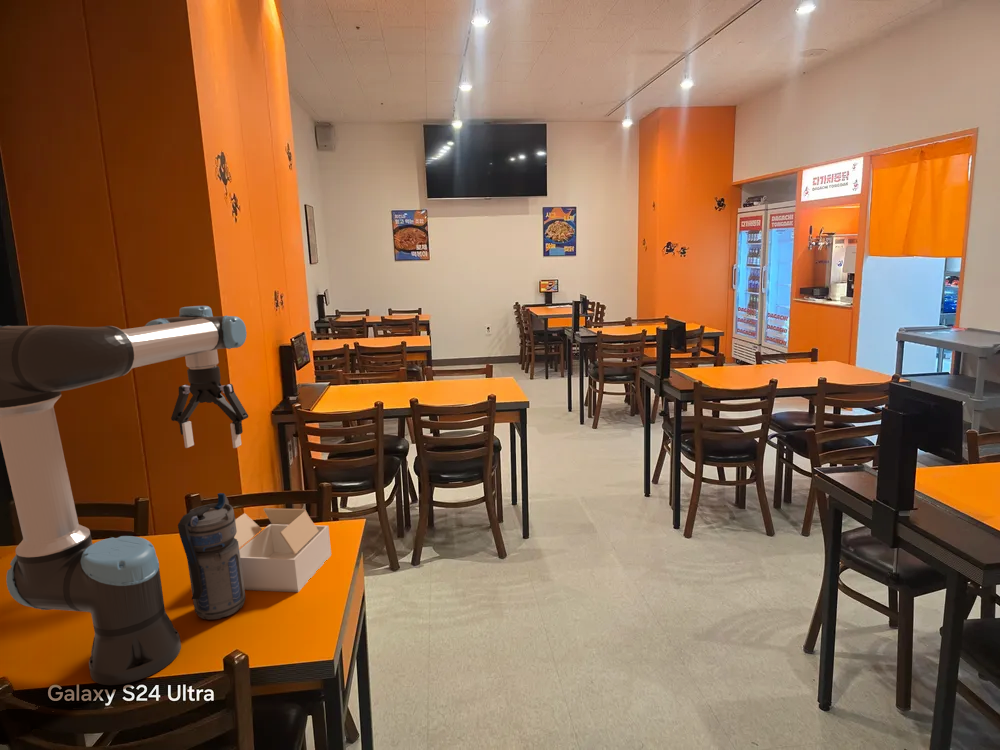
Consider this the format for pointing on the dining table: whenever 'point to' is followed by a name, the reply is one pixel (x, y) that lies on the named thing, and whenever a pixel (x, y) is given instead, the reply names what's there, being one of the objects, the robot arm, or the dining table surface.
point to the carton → (278, 557)
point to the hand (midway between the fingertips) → (213, 446)
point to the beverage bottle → (213, 559)
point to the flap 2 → (299, 532)
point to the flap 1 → (282, 515)
